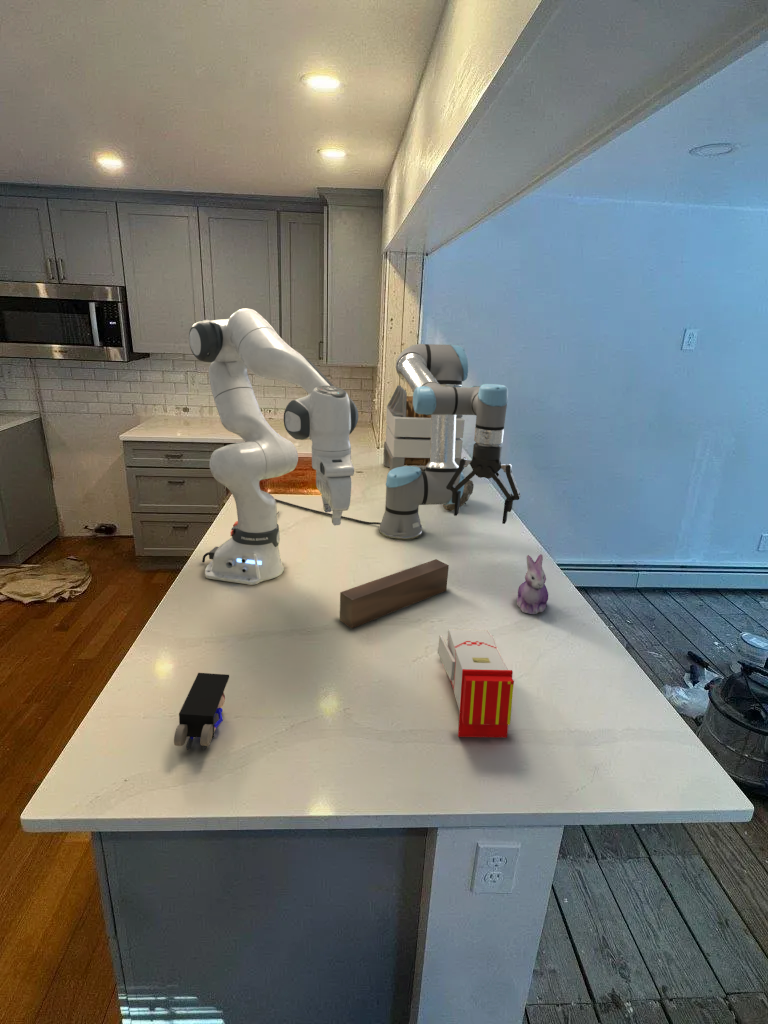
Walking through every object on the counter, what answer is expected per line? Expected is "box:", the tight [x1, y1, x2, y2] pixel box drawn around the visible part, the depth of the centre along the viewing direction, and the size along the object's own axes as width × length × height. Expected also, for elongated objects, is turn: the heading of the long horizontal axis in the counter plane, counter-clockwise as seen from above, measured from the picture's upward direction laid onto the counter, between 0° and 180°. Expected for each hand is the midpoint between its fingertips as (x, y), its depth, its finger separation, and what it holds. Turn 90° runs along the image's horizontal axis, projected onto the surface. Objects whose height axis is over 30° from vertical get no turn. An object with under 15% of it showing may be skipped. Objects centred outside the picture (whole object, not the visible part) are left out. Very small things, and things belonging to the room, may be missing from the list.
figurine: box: [516, 553, 549, 615], centre depth 151 cm, size 9×10×15 cm
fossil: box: [442, 479, 475, 512], centre depth 232 cm, size 22×10×15 cm
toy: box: [437, 628, 515, 738], centre depth 117 cm, size 12×13×30 cm
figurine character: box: [173, 672, 230, 751], centre depth 104 cm, size 7×8×15 cm
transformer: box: [383, 384, 465, 471], centre depth 268 cm, size 34×33×41 cm
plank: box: [339, 558, 450, 630], centre depth 151 cm, size 5×34×8 cm, turn 131°
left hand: (331, 517), depth 133 cm, fingers open, 8 cm apart
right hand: (480, 518), depth 159 cm, fingers open, 13 cm apart
